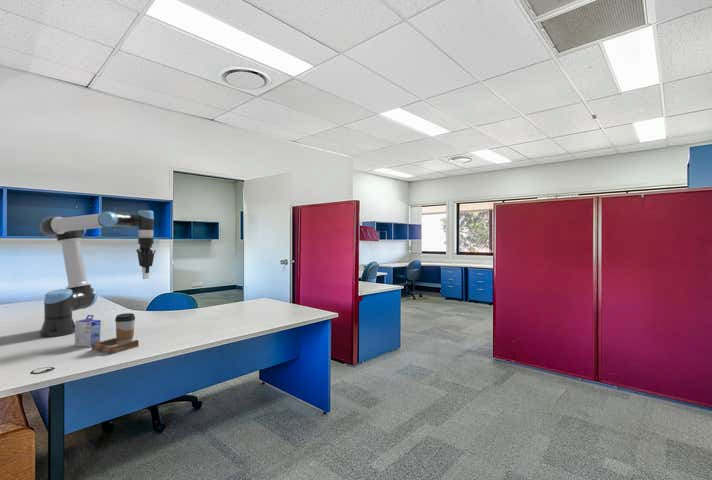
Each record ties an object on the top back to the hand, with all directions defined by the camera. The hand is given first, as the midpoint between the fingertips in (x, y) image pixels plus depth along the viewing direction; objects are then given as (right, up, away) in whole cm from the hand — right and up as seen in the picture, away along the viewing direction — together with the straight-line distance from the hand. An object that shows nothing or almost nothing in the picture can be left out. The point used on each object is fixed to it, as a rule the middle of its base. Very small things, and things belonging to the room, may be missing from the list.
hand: (145, 278), depth 203 cm
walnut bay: (+5, -30, -33) cm, 45 cm away
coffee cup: (+7, -30, -29) cm, 42 cm away
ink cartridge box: (-12, -30, -29) cm, 43 cm away
